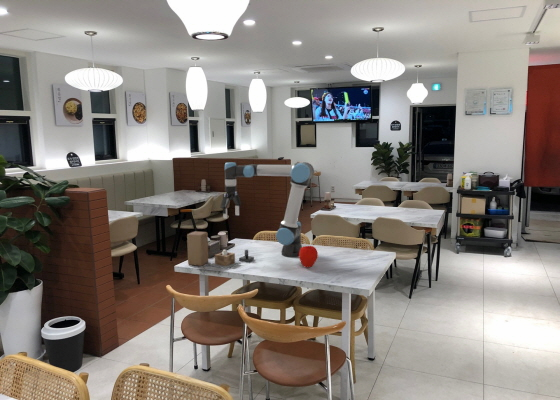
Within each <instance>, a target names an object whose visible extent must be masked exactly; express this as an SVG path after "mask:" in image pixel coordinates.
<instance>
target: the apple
mask: <svg viewBox="0 0 560 400" xmlns="http://www.w3.org/2000/svg"><path fill="white" fill-rule="evenodd" d="M318 255H319V254H318V249H317V248H316V247H315V246H314V245H313V246H312V245H305V246H302V248H301V249H300V252H299V262H300V264H301V265H302V266H303V267H304V268H311V267H313V266H314V265H315V263H317V260H318Z"/></svg>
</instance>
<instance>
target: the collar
mask: <svg viewBox="0 0 560 400" xmlns="http://www.w3.org/2000/svg"><path fill="white" fill-rule="evenodd" d="M222 252H223V251H222ZM222 252H219V253H216V254H214V263H215V264H217V265H223V266H228V265H230V264H233V263H235V261H236V253H233V252H228V251H227V255H226V256H225V255H222Z"/></svg>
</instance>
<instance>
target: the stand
mask: <svg viewBox="0 0 560 400" xmlns="http://www.w3.org/2000/svg"><path fill="white" fill-rule="evenodd" d="M254 260H255V257H254V256H250V255H249V249H244V256H243V255H242V256H241V257H239V258H238V262H244V263H250V262H253V261H254Z"/></svg>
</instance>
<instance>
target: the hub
mask: <svg viewBox="0 0 560 400" xmlns="http://www.w3.org/2000/svg"><path fill="white" fill-rule="evenodd" d="M227 252H228V251H227V249H223V250H222V255H225V256H226V255H227ZM239 264H241V261H236V260H235V263H233V264H230V265H228V266H223V265H217V264H215V262H213V263H210V264H209V266H211V267H216V268H221V267H223V268H222V269H227V268H228V269H230V268H232V267H234V266H237V265H239Z"/></svg>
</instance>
